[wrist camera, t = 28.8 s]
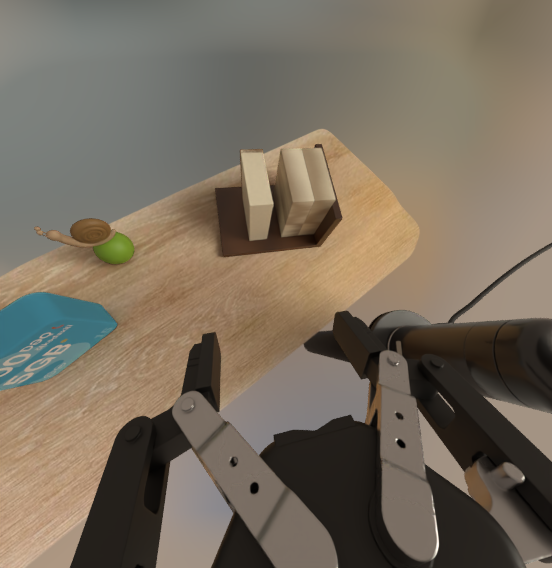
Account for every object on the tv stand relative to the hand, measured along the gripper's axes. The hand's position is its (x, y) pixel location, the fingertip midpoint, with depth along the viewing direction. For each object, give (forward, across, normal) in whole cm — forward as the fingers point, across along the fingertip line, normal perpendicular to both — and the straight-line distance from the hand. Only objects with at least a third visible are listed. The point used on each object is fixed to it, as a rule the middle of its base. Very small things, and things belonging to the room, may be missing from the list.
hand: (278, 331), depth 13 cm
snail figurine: (+30, +23, +4) cm, 38 cm away
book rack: (+33, -5, 0) cm, 34 cm away
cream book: (+32, -2, 0) cm, 32 cm away
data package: (+20, +29, +14) cm, 38 cm away
